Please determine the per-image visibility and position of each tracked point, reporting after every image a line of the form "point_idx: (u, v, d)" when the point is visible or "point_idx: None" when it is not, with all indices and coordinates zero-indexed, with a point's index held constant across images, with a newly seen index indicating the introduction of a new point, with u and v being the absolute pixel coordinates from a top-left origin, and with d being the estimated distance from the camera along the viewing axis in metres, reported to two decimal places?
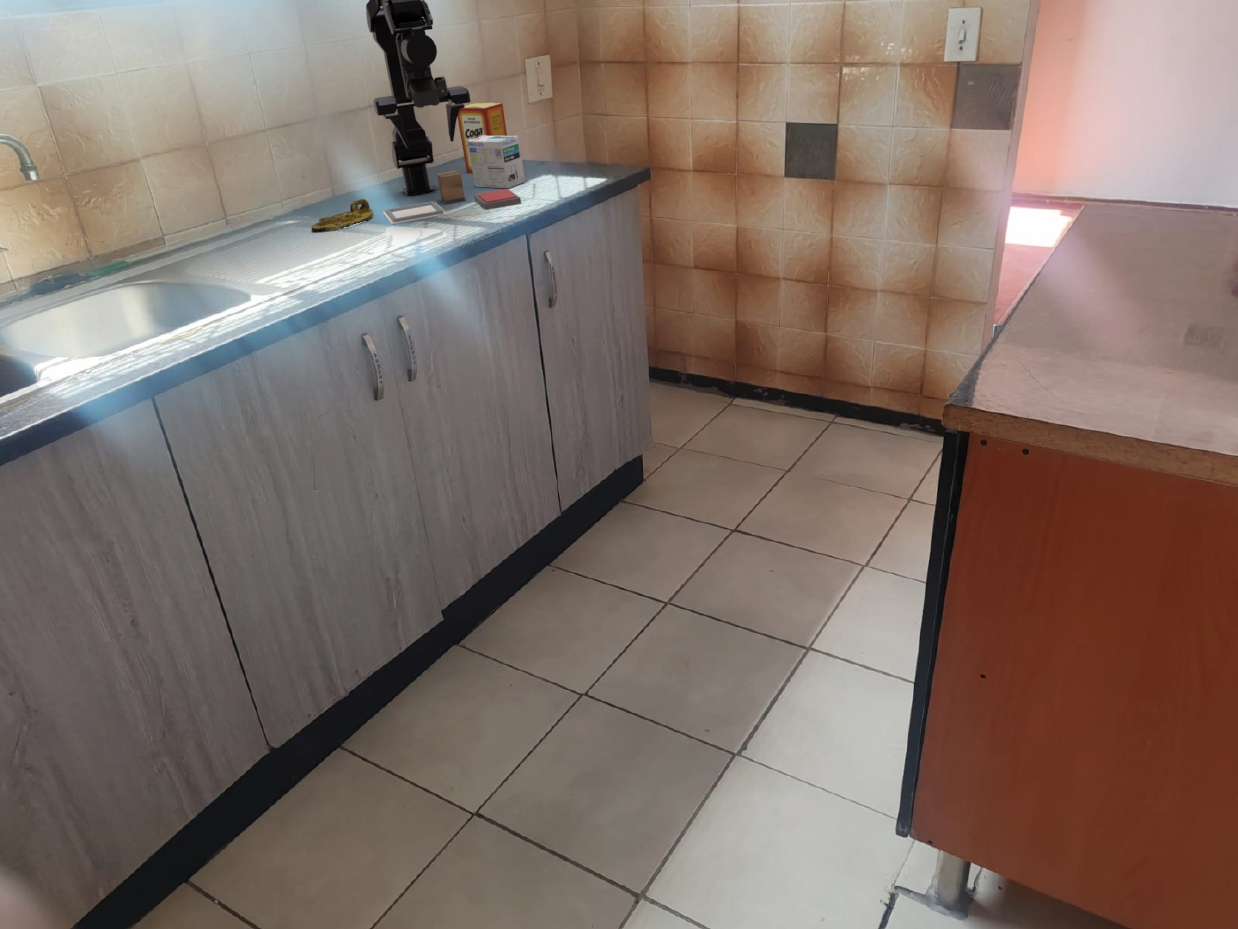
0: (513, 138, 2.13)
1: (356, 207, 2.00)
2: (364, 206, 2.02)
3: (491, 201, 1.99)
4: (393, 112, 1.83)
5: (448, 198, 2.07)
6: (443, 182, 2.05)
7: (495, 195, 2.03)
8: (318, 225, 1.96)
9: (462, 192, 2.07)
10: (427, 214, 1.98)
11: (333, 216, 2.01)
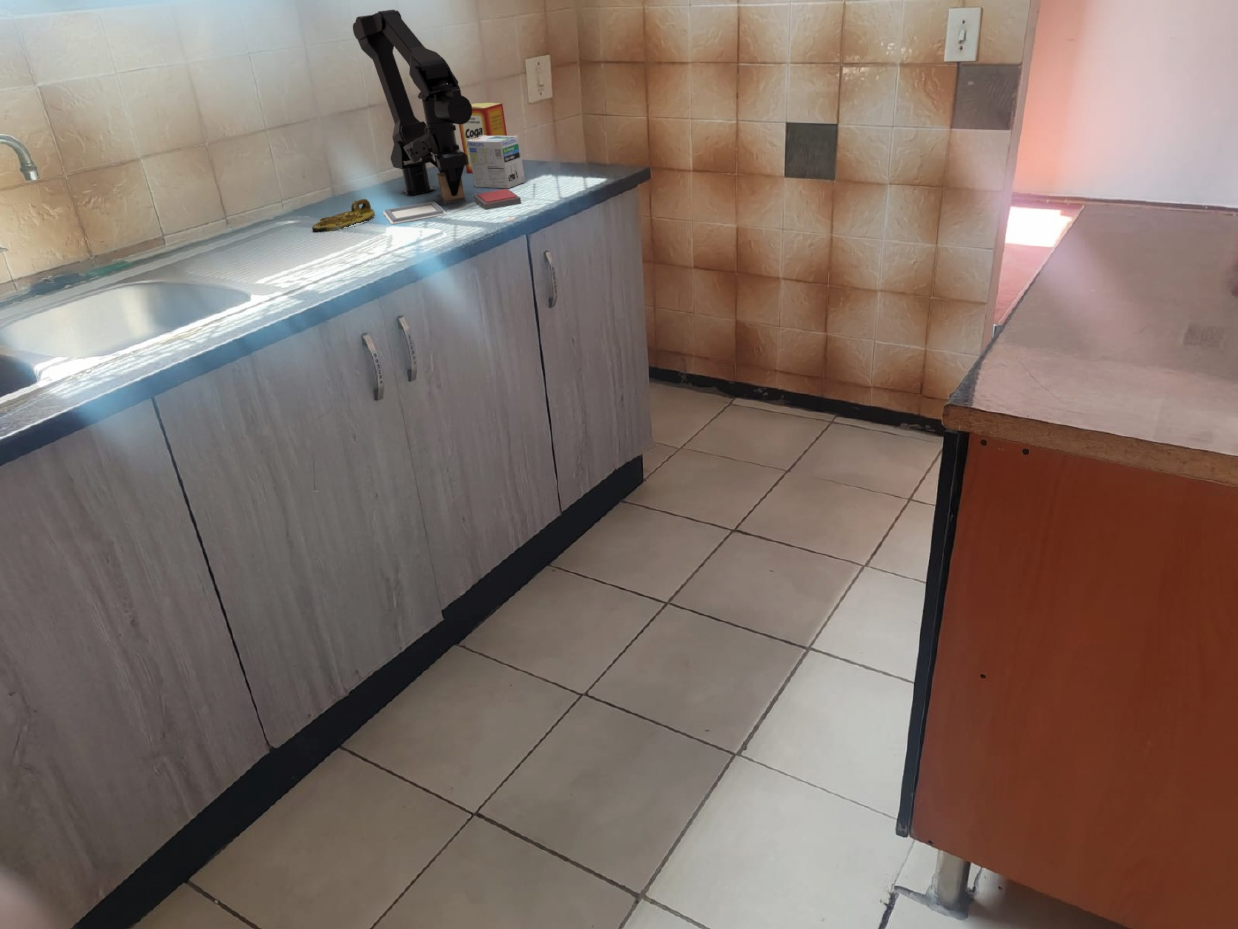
0: (513, 138, 2.13)
1: (357, 207, 2.00)
2: (365, 206, 2.02)
3: (491, 201, 1.99)
4: (426, 157, 2.10)
5: (448, 198, 2.07)
6: (443, 182, 2.05)
7: (495, 195, 2.03)
8: (319, 225, 1.96)
9: (462, 192, 2.07)
10: (427, 214, 1.98)
11: (334, 216, 2.01)
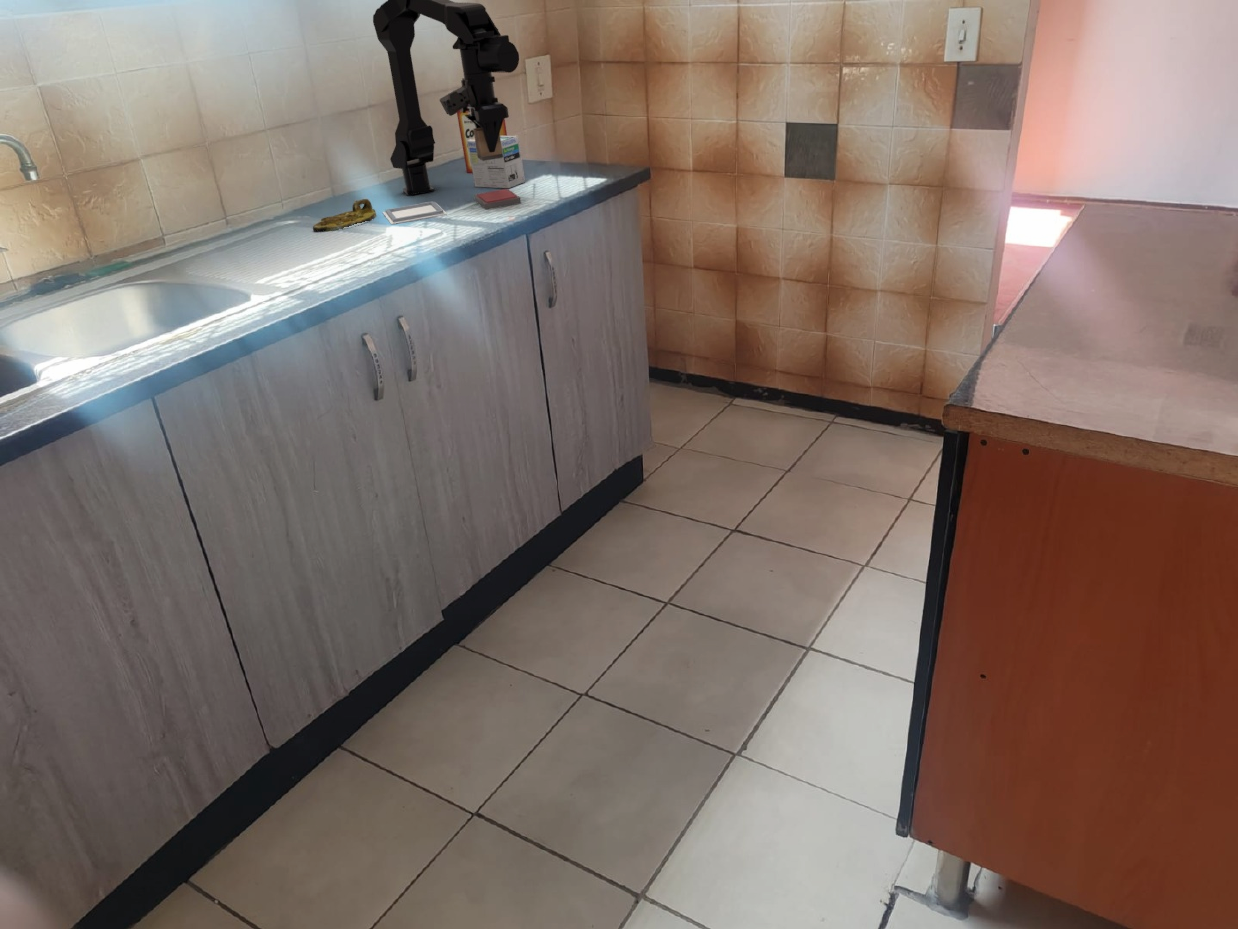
0: (513, 138, 2.13)
1: (358, 207, 2.00)
2: (367, 206, 2.02)
3: (491, 201, 1.99)
4: (462, 111, 2.00)
5: (485, 154, 1.97)
6: (480, 137, 1.95)
7: (495, 195, 2.03)
8: (319, 225, 1.96)
9: (500, 148, 1.97)
10: (427, 214, 1.98)
11: (335, 216, 2.01)
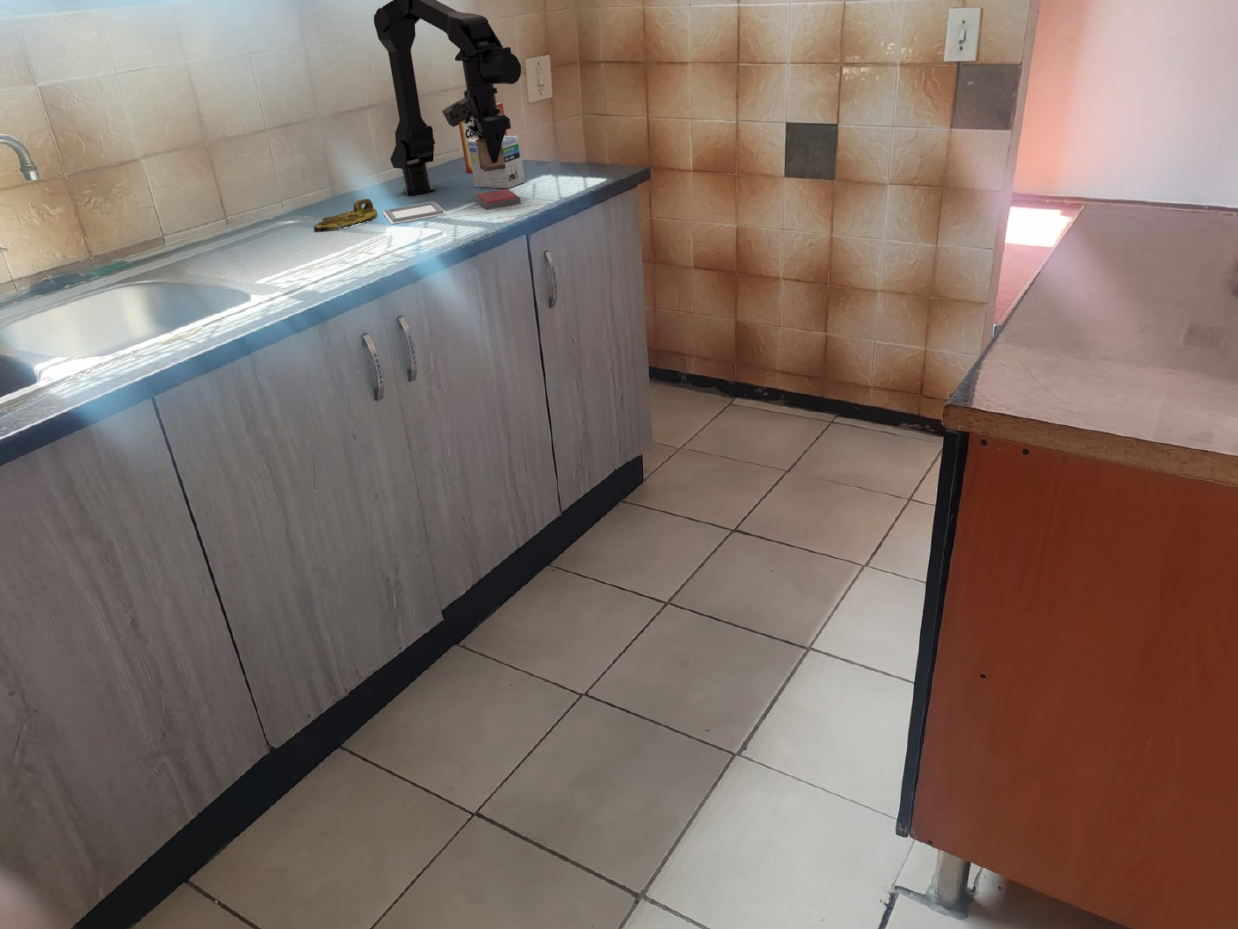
0: (513, 138, 2.13)
1: (359, 207, 2.00)
2: (368, 206, 2.02)
3: (491, 201, 1.99)
4: (465, 122, 2.01)
5: (488, 165, 1.98)
6: (483, 148, 1.96)
7: (495, 195, 2.03)
8: (320, 224, 1.96)
9: (502, 159, 1.98)
10: (427, 214, 1.98)
11: (337, 215, 2.01)
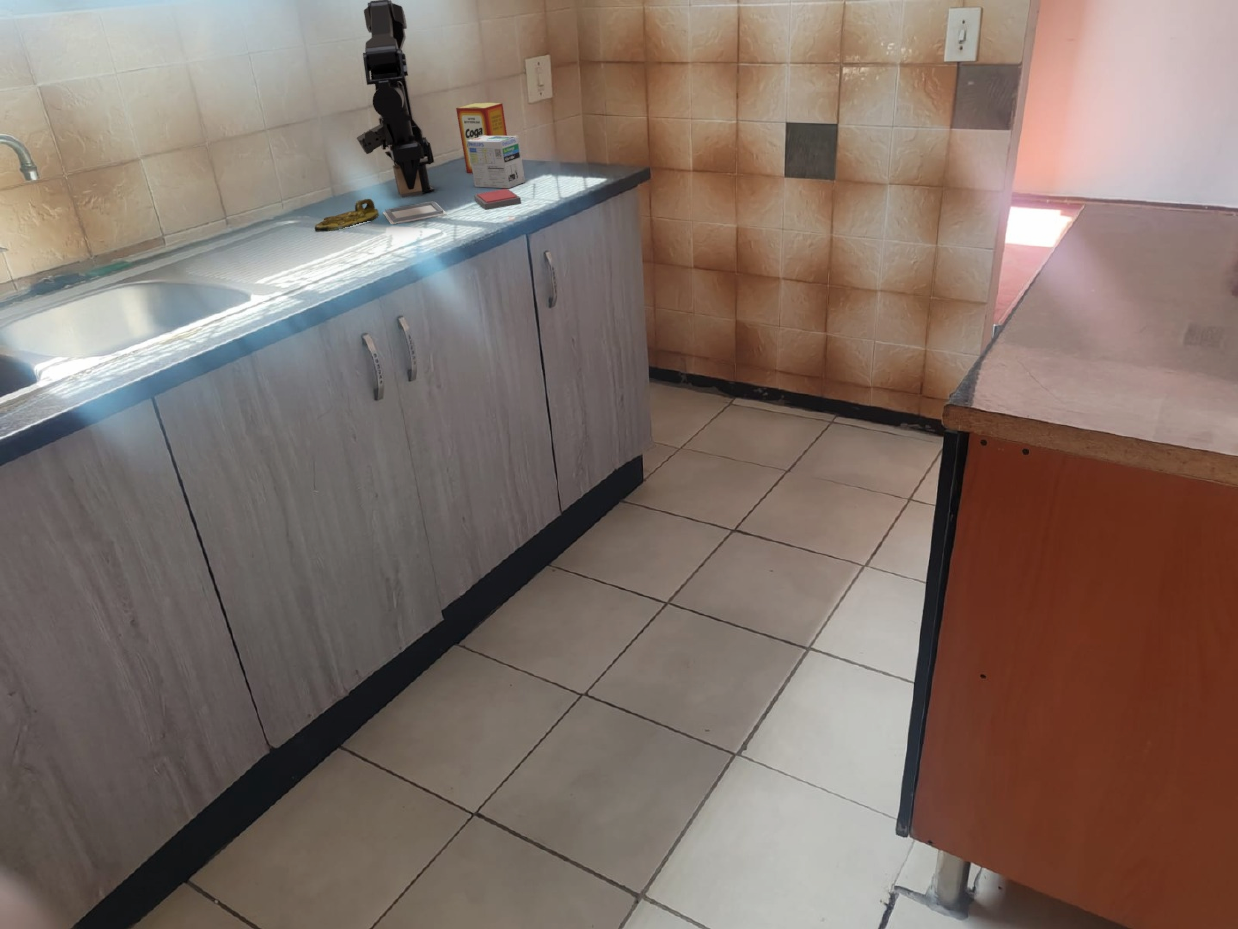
0: (513, 138, 2.13)
1: (361, 207, 2.00)
2: (369, 206, 2.02)
3: (491, 201, 1.99)
4: (382, 148, 2.00)
5: (404, 191, 1.97)
6: (398, 174, 1.95)
7: (495, 195, 2.03)
8: (321, 224, 1.96)
9: (419, 185, 1.98)
10: (427, 214, 1.98)
11: (338, 215, 2.01)
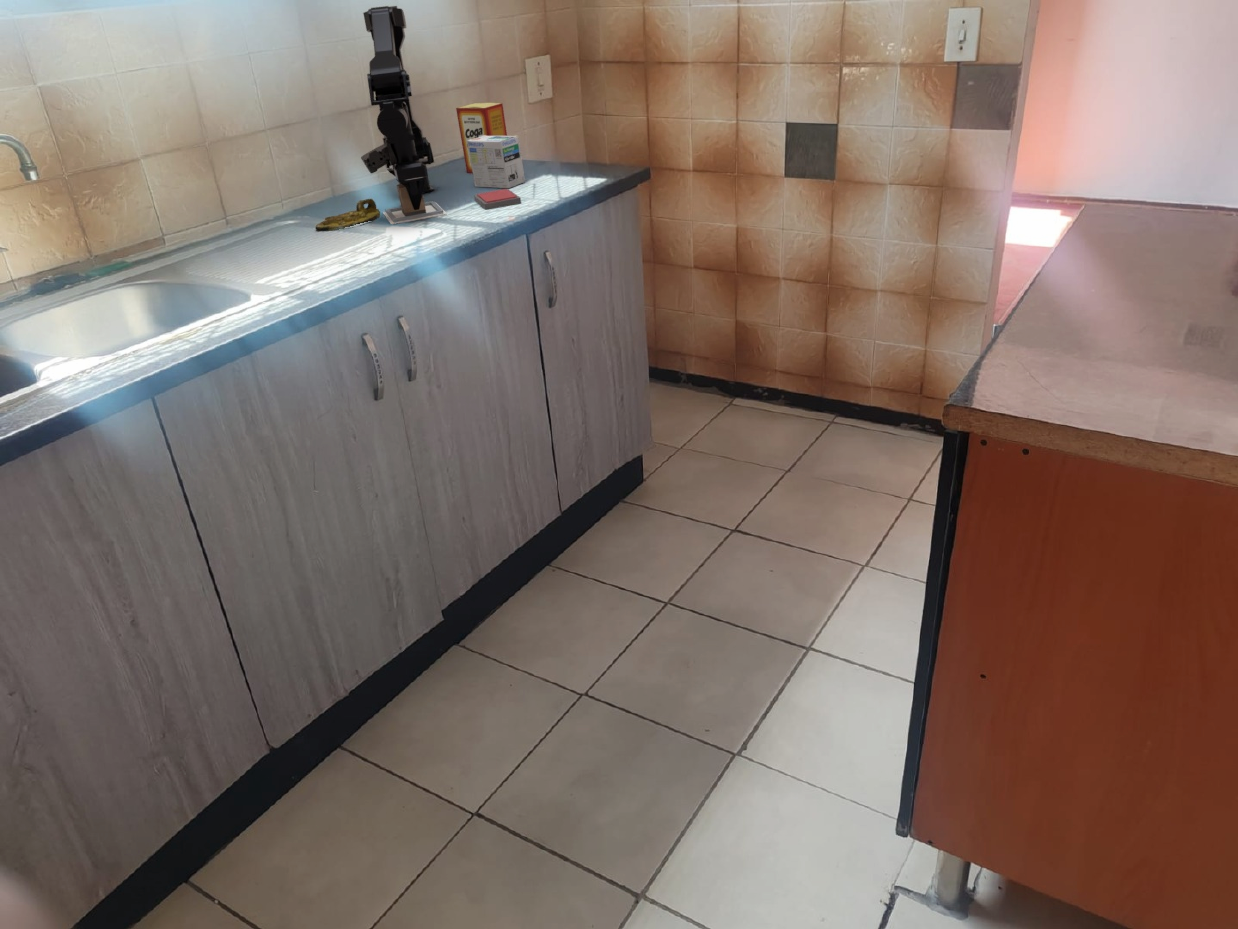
0: (513, 138, 2.13)
1: (362, 207, 2.00)
2: (370, 206, 2.02)
3: (491, 201, 1.99)
4: (386, 167, 2.02)
5: (408, 210, 1.99)
6: (402, 194, 1.97)
7: (495, 195, 2.03)
8: (322, 224, 1.96)
9: (423, 204, 1.99)
10: (427, 214, 1.98)
11: (339, 215, 2.01)
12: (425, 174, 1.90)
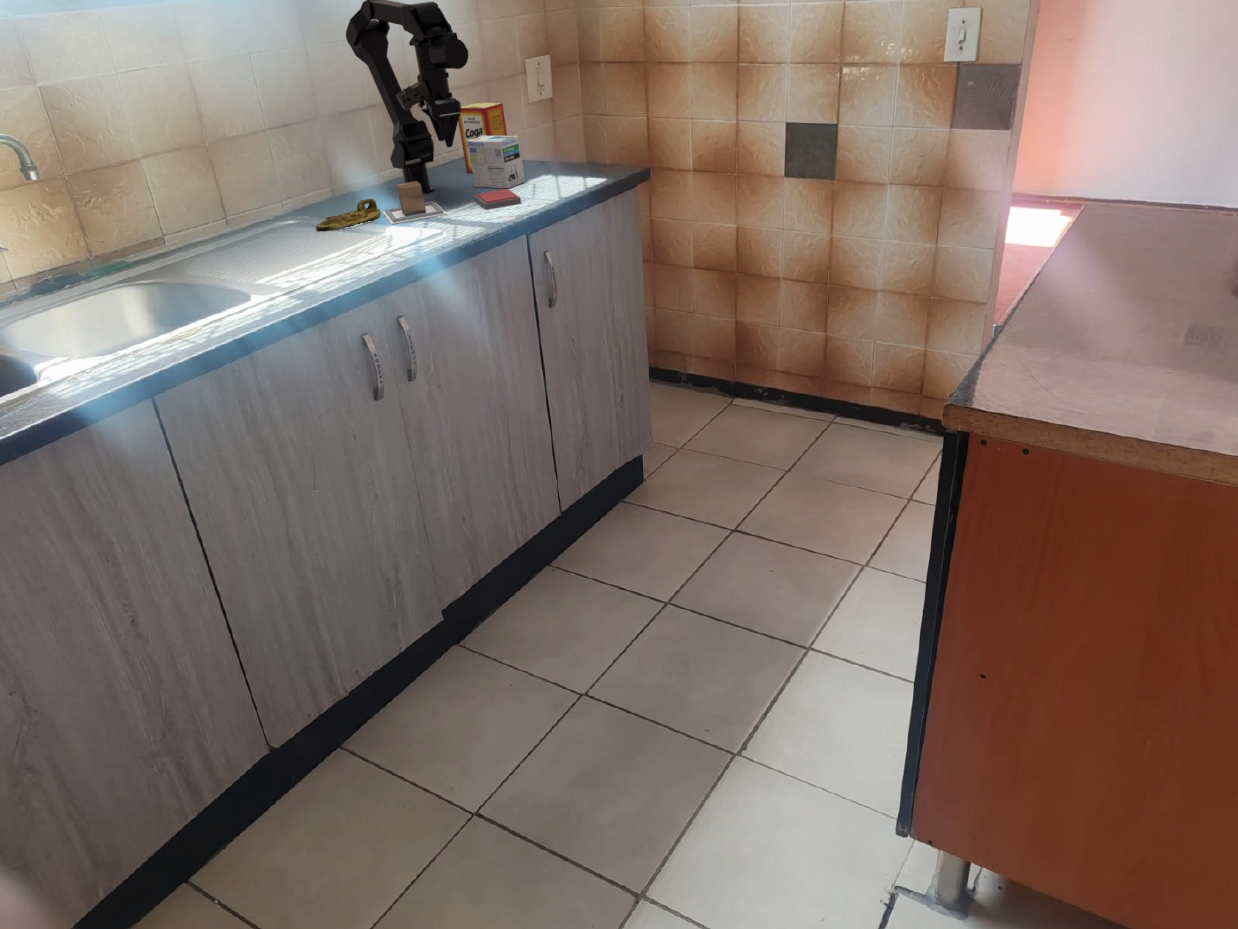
0: (513, 138, 2.13)
1: (363, 207, 2.00)
2: (371, 206, 2.02)
3: (491, 201, 1.99)
4: (420, 106, 2.06)
5: (408, 210, 1.99)
6: (402, 194, 1.97)
7: (495, 195, 2.03)
8: (322, 224, 1.96)
9: (423, 204, 1.99)
10: (427, 214, 1.98)
11: (340, 215, 2.01)
12: (459, 110, 1.95)
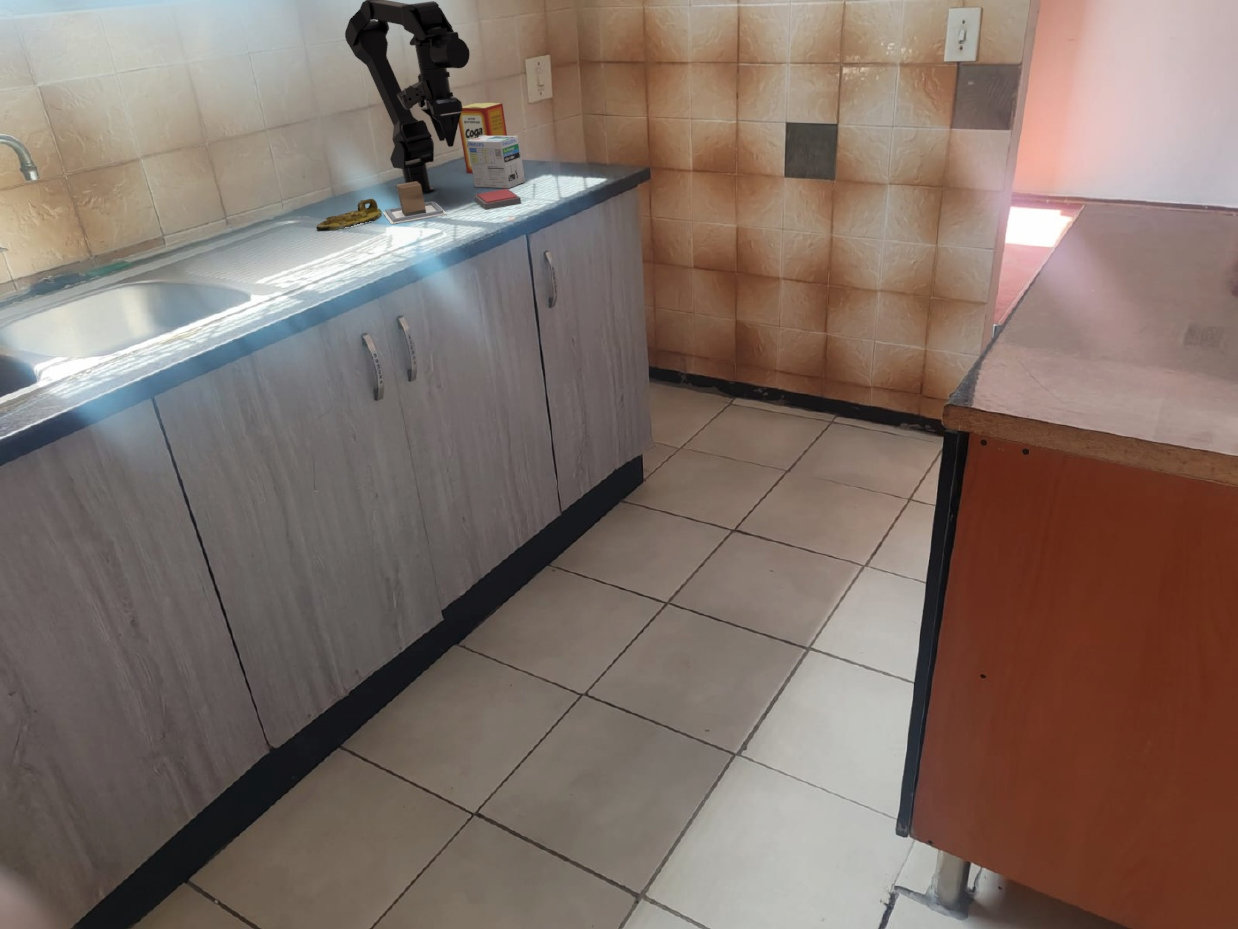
0: (513, 138, 2.13)
1: (363, 207, 2.00)
2: (372, 206, 2.02)
3: (491, 201, 1.99)
4: (420, 106, 2.06)
5: (408, 210, 1.99)
6: (402, 194, 1.97)
7: (495, 195, 2.03)
8: (323, 224, 1.96)
9: (423, 204, 1.99)
10: (427, 214, 1.98)
11: (341, 215, 2.01)
12: (460, 109, 1.95)
